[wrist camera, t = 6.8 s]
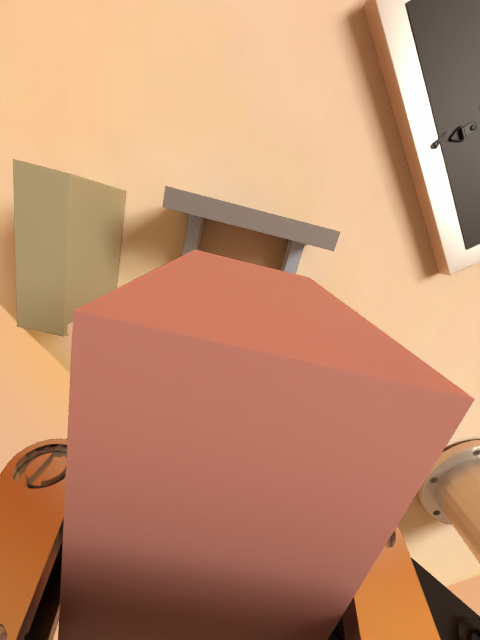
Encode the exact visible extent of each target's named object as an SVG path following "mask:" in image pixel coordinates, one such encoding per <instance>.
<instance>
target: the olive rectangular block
mask: <svg viewBox="0 0 480 640" xmlns="http://www.w3.org/2000/svg"><path fill="white" fill-rule="evenodd" d="M13 181H14V223H15V265H16V306H17V326H18V327H22V328H27V329H31V330H36V331H41V332H45V333H50V334H55V335H59V336H65V335H67V336H68V335H69V334H71V333H72V330H73V310H75V309H77V308H79V307H81V306H83V305H85V304H87V303H89V302H91V301H93V300H95V299H97V298H99V297H101V296H103V295H105V294H107V293H109V292H111V291H113V290H115V289H117V281H118V271H119V260H120V250H121V240H122V230H123V219H124V209H125V199H126V191H124V190H121V189H117V188H114V187H111V186H108V185H104V184H101V183H98V182H95V181H92V180H88V179H85V178H82V177H79V176H76V175H72V174H69V173H65V172H61V171H58V170H54V169H50V168H46V167H42V166H38V165H34V164H30V163H27V162H23V161H19V160H15V159H13Z"/></svg>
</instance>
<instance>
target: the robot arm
mask: <svg viewBox="0 0 480 640" xmlns="http://www.w3.org/2000/svg"><path fill="white" fill-rule="evenodd" d="M66 460H67V439H49V440H45V441H41V442H38V443H36V444H33V445H31V446H29V447H27V448H25V449H23V450H22V451H21V452H19V453H18V454H16V455H15V456H14V457H13V458H12V459H11V460H10V461H9V463H8V464H7V465H6V467H5V468H4V469H3V471H2V472H1V474H0V640H53V637H54V634H55V631H56V628H57V624H58V621H59V611H60V589H61V568H62V546H63V525H64V503H65V481H66ZM418 497H419V499H420V502H421V504H422V505H423V506H424V508H425V510H426V511H427V512H428V513H429V514H430V515H431V516H432V517H433V518H435V519H437V520H438V521H441V522H444V523H446V524H451V525H453V527H454V528H455V529H456V531H457V532H458V534H459V535H460V536H461V538H462V539H463V541H464V542H465V543H466V545H467V546H468V548H469V549H470V551H471V552H472V553H473V555H474V556H475V558H476V559H477V560H478V562H479V563H480V440H472V441H468V442H464V443H461V444H458V445H456V446H453V447H451V448H449V449H447V450H446V451H444V452H442V453H441V455H440V457H439V458H438V460H437V462H436V463H435V465H434V466H433V468H432V470H431V471H430V473H429V475H428V476H427V478H426V480H425V481H424V483H423V484H422V486H421V488H420V489H419V491H418ZM328 640H480V616H479V615H477V614H476V613H475V612H474V611H473V610H472V609H470V608H469V607H468V606H467V605H466V604H465V603H463V602H462V601H461V600H460V599H459V598H458V597H456V596H455V595H454V594H453V593H452V592H451V591H450V590H448V589H447V588H446V587H445V586H444V585H443V584H441V583H440V582H439V581H438V580H437V579H436V578H434V577H433V576H432V575H431V574H430V573H429V572H427V571H426V570H425V569H424V568H423V567H422V566H420V565H419V564H418V563H417V562H416V561H415V560H413V559H412V558H411V557H410V555H409V552H408V549H407V547H406V544H405V541H404V538H403V536H402V533H401V531H400V529H399V527H398V525H397V527H396V529H395V530H394V532H393V534H392V535H391V537H390V538H389V540H388V542H387V543H386V545H385V547H384V548H383V550H382V552H381V553H380V555H379V556H378V558H377V560H376V561H375V563H374V565H373V566H372V568H371V570H370V571H369V573H368V574H367V576H366V578H365V579H364V581H363V583H362V584H361V586H360V588H359V589H358V591H357V592H356V594H355V596H354V597H353V599H352V601H351V602H350V604H349V606H348V607H347V609H346V610H345V612H344V614H343V615H342V617H341V619H340V620H339V622H338V624H337V625H336V627H335V628H334V630H333V632H332V633H331V635H330V637H329V638H328Z"/></svg>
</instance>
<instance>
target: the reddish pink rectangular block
mask: <svg viewBox="0 0 480 640" xmlns="http://www.w3.org/2000/svg"><path fill="white" fill-rule="evenodd" d="M473 401H474V398H472V397H471V396H470V395H468V394H467V393H466V392H464V391H463V390H461V389H460V388H459V387H457V386H456V385H455V384H453V383H452V382H451V381H449V380H448V379H447V378H445V377H444V376H442V375H441V374H440V373H438V372H437V371H436V370H434V369H433V368H432V367H430V366H429V365H427V364H426V363H425V362H423V361H422V360H421V359H419V358H418V357H417V356H415V355H414V354H413V353H411V352H410V351H408V350H407V349H406V348H404V347H403V346H402V345H400V344H399V343H398V342H396V341H395V340H393V339H392V338H391V337H389V336H388V335H387V334H385V333H384V332H383V331H381V330H380V329H379V328H377V327H376V326H374V325H373V324H372V323H370V322H369V321H368V320H366V319H365V318H364V317H362V316H361V315H359V314H358V313H357V312H355V311H354V310H353V309H351V308H350V307H349V306H347V305H346V304H345V303H343V302H342V301H340V300H339V299H338V298H336V297H335V296H334V295H332V294H331V293H330V292H328V291H327V290H325V289H324V288H323V287H321V286H320V285H319V284H317V283H316V282H315V281H313V280H312V279H311V278H309V277H305V276H301V275H297V274H293V273H289V272H285V271H281V270H277V269H272V268H268V267H264V266H260V265H256V264H252V263H248V262H244V261H240V260H236V259H232V258H228V257H224V256H220V255H216V254H212V253H208V252H203V251H199V250H193V251H191V252H189V253H187V254H185V255H183V256H181V257H179V258H177V259H175V260H173V261H171V262H169V263H167V264H165V265H163V266H161V267H159V268H157V269H155V270H153V271H151V272H149V273H147V274H145V275H143V276H141V277H139V278H137V279H135V280H133V281H131V282H129V283H127V284H125V285H123V286H121V287H119V288H117V289H115V290H113V291H111V292H109V293H107V294H105V295H103V296H101V297H99V298H97V299H95V300H93V301H91V302H89V303H87V304H85V305H83V306H81V307H79V308H77V309H75V310H73V330H72V352H71V374H70V395H69V417H68V418H69V419H68V438H67V460H66V481H65V503H64V525H63V546H62V568H61V589H60V611H59V632H58V640H328V638H329V637H330V635H331V633H332V632H333V630H334V628H335V627H336V625H337V624H338V622H339V620H340V619H341V617H342V615H343V614H344V612H345V610H346V609H347V607H348V606H349V604H350V602H351V601H352V599H353V597H354V596H355V594H356V592H357V591H358V589H359V588H360V586H361V584H362V583H363V581H364V579H365V578H366V576H367V574H368V573H369V571H370V570H371V568H372V566H373V565H374V563H375V561H376V560H377V558H378V556H379V555H380V553H381V552H382V550H383V548H384V547H385V545H386V543H387V542H388V540H389V538H390V537H391V535H392V534H393V532H394V530H395V529H396V527H397V525H398V524H399V522H400V520H401V519H402V517H403V516H404V514H405V512H406V511H407V509H408V507H409V506H410V504H411V502H412V501H413V499H414V498H415V496H416V494H417V493H418V491H419V489H420V488H421V486H422V484H423V483H424V481H425V480H426V478H427V476H428V475H429V473H430V471H431V470H432V468H433V466H434V465H435V463H436V462H437V460H438V458H439V457H440V455H441V453H442V452H443V450H444V449H445V447H446V445H447V444H448V442H449V440H450V439H451V437H452V435H453V434H454V432H455V431H456V429H457V427H458V426H459V424H460V422H461V421H462V419H463V417H464V416H465V414H466V413H467V411H468V409H469V408H470V406H471V404H472V403H473Z"/></svg>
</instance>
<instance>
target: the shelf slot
mask: <svg viewBox="0 0 480 640" xmlns="http://www.w3.org/2000/svg"><path fill="white" fill-rule="evenodd" d="M163 207H164V208H167V209H171V210H175V211H179V212H183V213H187V214H189V218H188V224H187V230H186V236H185V242H184V248H183V253H182V256H183V255H185V254H187V253H189V252H191V251H193V250H199V246H200V241H201V236H202V230H203V225H204V220H205V218H207V219H210V220H214V221H218V222H222V223H226V224H230V225H234V226H238V227H242V228H246V229H249V230H253V231H257V232H261V233H265V234H269V235H273V236H277V237H281V238H285V239H289V241H288V244H287V248H286V251H285V255H284V258H283V262H282V265H281V269H280V270H281V271H285V272H289V273H293V274H296V271H297V268H298V264H299V261H300V258H301V255H302V251H303V248H304V245H305V244H308V245H312V246H316V247H320V248H324V249H328V250H331V251H334V249H335V246H336V243H337V240H338V237H339V234H340V232H339V231H335V230H331V229H327V228H324V227H320V226H316V225H312V224H308V223H305V222H301V221H297V220H293V219H289V218H286V217H282V216H278V215H274V214H270V213H266V212H263V211H259V210H255V209H251V208H247V207H244V206H240V205H236V204H232V203H228V202H225V201H221V200H217V199H213V198H209V197H205V196H202V195H198V194H194V193H190V192H186V191H183V190H179V189H175V188H171V187H167V186H165V193H164V200H163Z"/></svg>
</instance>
